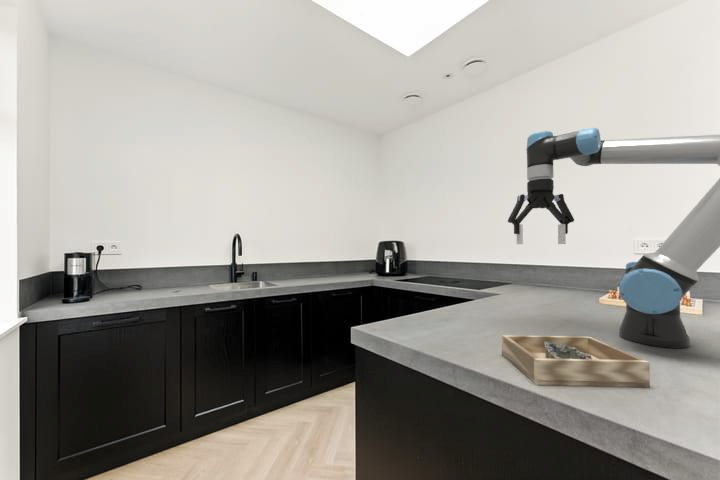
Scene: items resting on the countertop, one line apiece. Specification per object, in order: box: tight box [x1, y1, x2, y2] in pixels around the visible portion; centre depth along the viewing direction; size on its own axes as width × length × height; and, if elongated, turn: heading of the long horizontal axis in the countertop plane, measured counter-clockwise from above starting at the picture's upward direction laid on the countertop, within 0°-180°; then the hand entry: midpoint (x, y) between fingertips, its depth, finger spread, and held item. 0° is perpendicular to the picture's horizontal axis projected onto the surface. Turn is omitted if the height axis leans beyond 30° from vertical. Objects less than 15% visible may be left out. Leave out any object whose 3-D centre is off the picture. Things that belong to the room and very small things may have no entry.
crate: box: [501, 334, 651, 388], centre depth 70 cm, size 22×17×5 cm
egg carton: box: [544, 341, 592, 359], centre depth 70 cm, size 11×8×4 cm
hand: (540, 244), depth 100 cm, fingers open, 13 cm apart
